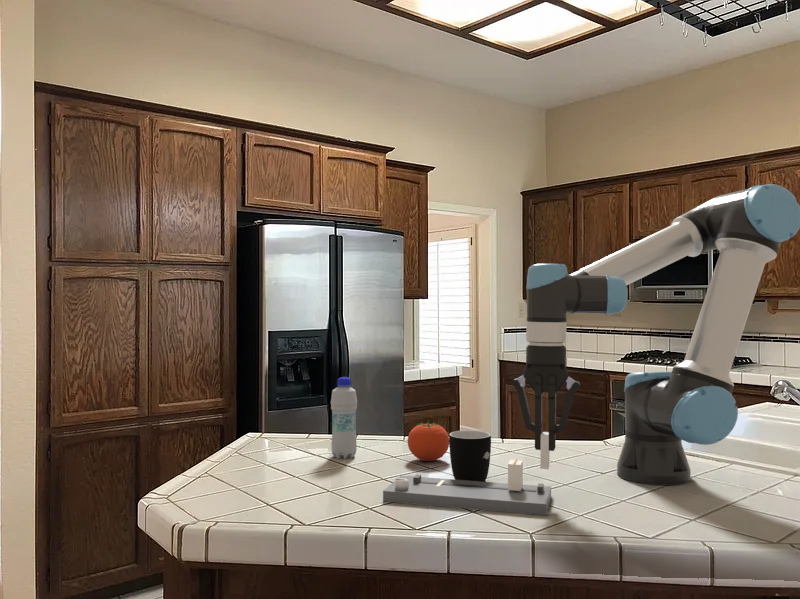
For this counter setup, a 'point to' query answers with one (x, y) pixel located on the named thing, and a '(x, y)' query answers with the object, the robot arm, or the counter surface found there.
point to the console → (469, 494)
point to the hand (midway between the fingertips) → (544, 467)
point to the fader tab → (515, 475)
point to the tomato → (428, 441)
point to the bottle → (344, 419)
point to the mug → (470, 455)
